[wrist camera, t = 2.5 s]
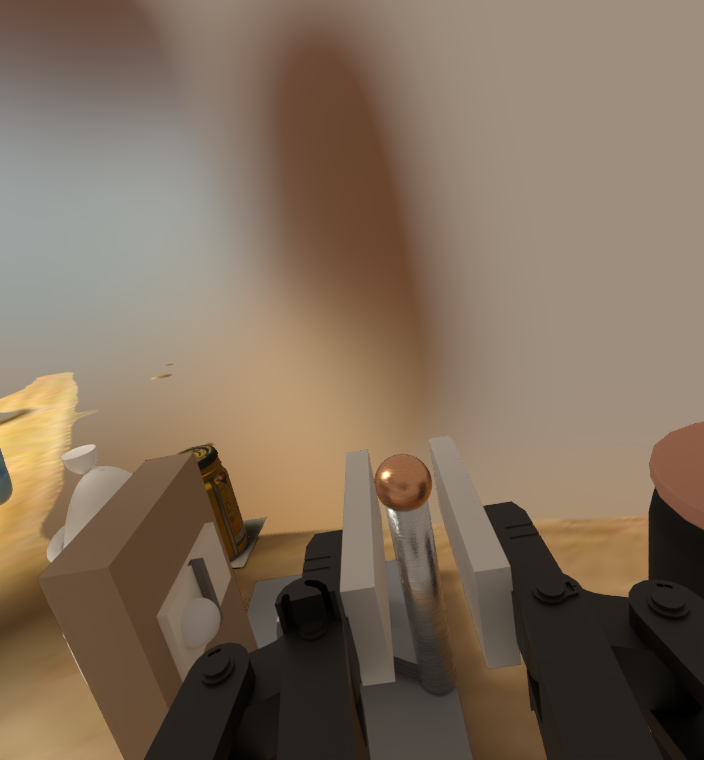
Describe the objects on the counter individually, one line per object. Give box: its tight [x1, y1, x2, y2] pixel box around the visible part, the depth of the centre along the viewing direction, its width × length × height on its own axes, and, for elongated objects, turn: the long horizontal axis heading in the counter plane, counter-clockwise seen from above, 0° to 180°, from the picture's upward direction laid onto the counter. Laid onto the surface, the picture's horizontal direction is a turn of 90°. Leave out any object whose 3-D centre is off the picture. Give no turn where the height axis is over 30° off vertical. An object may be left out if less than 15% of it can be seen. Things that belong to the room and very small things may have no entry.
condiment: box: [176, 445, 266, 568], centre depth 51 cm, size 7×8×12 cm
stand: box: [37, 452, 473, 760], centre depth 30 cm, size 16×20×20 cm
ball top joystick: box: [276, 454, 457, 696], centre depth 31 cm, size 12×10×16 cm
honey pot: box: [47, 445, 133, 685], centre depth 39 cm, size 13×13×18 cm
